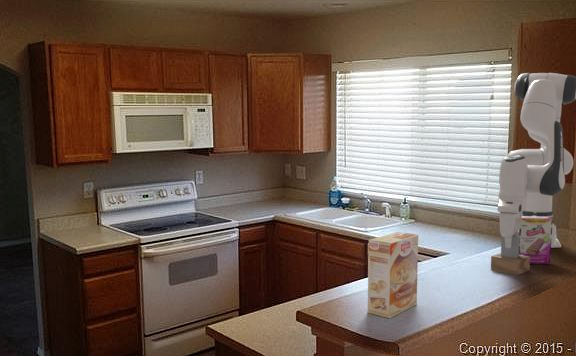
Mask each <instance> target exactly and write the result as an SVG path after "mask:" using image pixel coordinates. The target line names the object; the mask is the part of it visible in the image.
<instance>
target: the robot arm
mask: <svg viewBox="0 0 576 356" xmlns="http://www.w3.org/2000/svg"><path fill="white" fill-rule="evenodd" d="M513 88H514V89H513V91H514V94H515V97H516V98H517V99H518V100H520V101H523V102H522V107H521V110H520V123H521V125H522V127H523V128H524V129H525V130H526V131H527V133H528V136H529V137H530V138H531V139H532V140H533V141H535V142H538V143H540V148H520V149H516V150H510V151H509V152H508V153H507V155H506V156H504V157H502V159H501V162H500V167H499V176H498V177H499V178H498V179H499V180H498V182H499V183H498V184H499V192H498V198H497V199H498V203H497V212H498V213H499V216H498V217H499V218H498V219H499V232H500V235H501V236H505V247H506V248H511V247H512V236H513V235H517V234H518V230H519V229H520V228H521V226H522V216H540V217H550V218H552V219H553V220H554V211H553V197H554V196H556V195H558V194H560V192H562V191H563V190H564V188H565V184H566V177H565V175H568V174H570V173H571V171H572V170H573V167H574V158H573V156H572V154H571V153H570V152H569V151H568V150H567V149H566V148H565V146H564V145H565V144H564V130H563V126H562V124H561V116H562V106H564V105H568V104H572V103H573V102H575V101H576V76H575V75H572V74H561V73H555V72H548V73H547V72H537V73H536V72H535V73H531V72H525V73H520V75H518V77H517V79H516V81H514V86H513ZM562 104H563V105H562ZM552 248H553V249H554V248H562V244H561V243H560V240H559V239H558V234H557V226H556V224H554V223H553V222H552V238H551V249H552Z"/></svg>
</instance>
